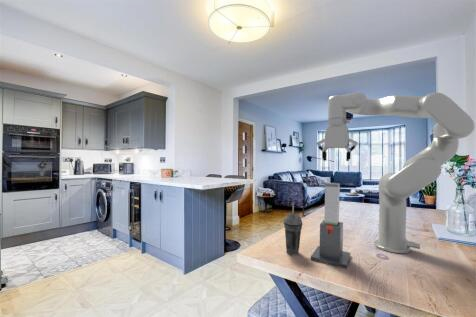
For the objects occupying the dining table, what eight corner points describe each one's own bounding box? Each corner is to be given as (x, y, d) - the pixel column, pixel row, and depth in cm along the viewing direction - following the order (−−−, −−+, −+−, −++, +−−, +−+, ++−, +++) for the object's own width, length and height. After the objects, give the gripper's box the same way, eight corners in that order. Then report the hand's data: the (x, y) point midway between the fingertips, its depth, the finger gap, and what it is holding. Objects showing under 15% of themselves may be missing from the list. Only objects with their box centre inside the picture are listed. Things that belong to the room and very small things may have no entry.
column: (338, 237, 88) (339, 183, 87) (336, 241, 84) (338, 184, 83) (326, 235, 90) (327, 182, 90) (323, 238, 86) (325, 183, 86)
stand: (350, 255, 89) (351, 222, 89) (346, 268, 79) (347, 230, 78) (318, 248, 95) (318, 217, 95) (310, 259, 85) (311, 224, 85)
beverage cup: (302, 250, 93) (303, 200, 93) (301, 257, 87) (302, 204, 86) (284, 247, 96) (285, 199, 96) (281, 254, 89) (282, 202, 89)
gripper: (358, 123, 104) (357, 161, 104) (318, 125, 113) (318, 160, 113) (357, 120, 98) (356, 161, 98) (315, 123, 107) (314, 160, 107)
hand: (336, 160), depth 105 cm, fingers open, 9 cm apart
